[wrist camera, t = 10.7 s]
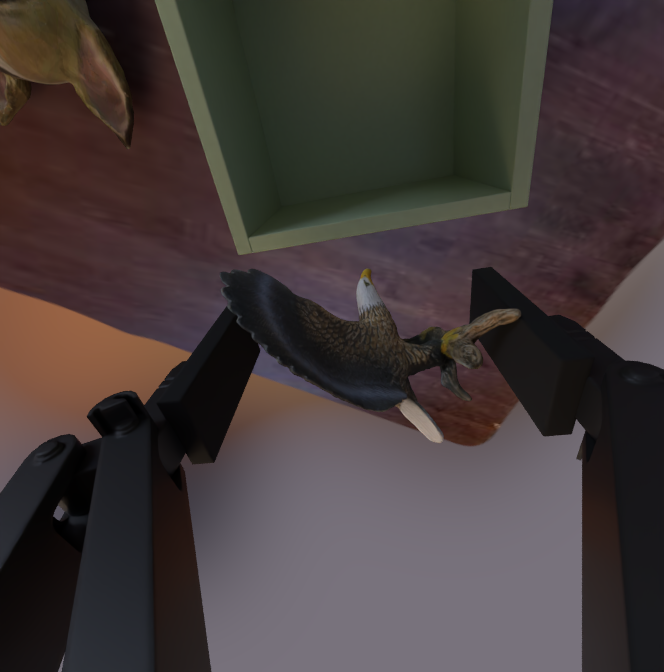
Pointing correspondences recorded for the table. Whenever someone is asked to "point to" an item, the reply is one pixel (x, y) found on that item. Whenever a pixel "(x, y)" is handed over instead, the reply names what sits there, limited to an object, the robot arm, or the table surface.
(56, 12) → the ceramic sculpture
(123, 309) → the table surface
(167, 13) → the chest
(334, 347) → the eagle figurine
